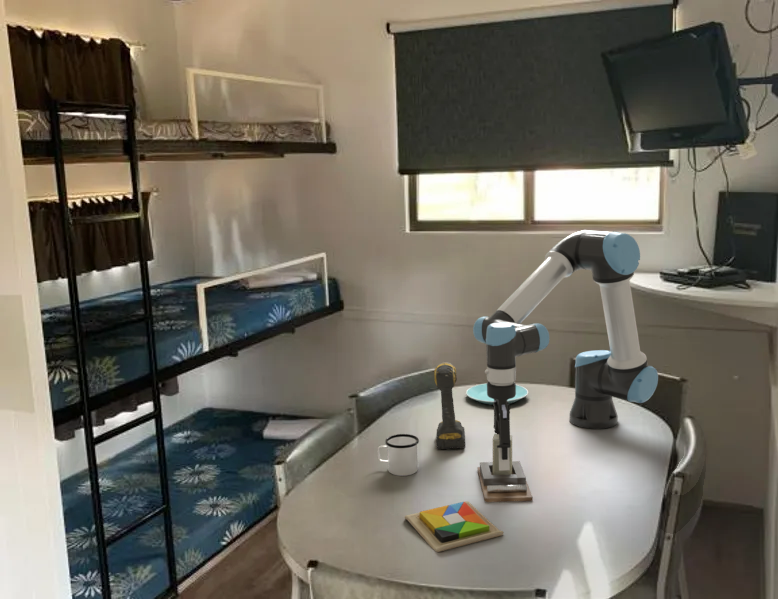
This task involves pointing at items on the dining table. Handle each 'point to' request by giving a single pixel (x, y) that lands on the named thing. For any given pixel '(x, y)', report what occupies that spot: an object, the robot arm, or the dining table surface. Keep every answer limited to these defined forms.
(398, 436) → the mug
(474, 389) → the plate
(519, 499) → the stand
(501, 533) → the wooden puzzle
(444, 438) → the cordless drill
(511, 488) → the rod
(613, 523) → the dining table surface
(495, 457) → the box
